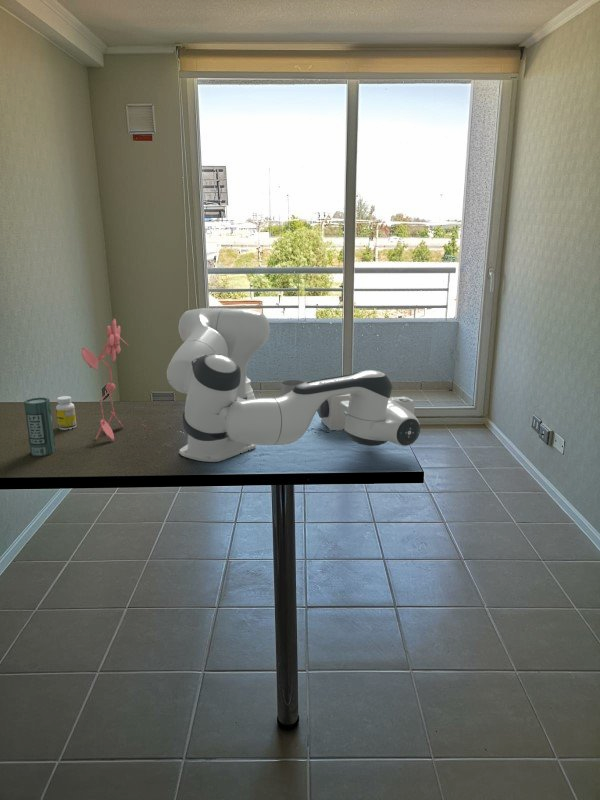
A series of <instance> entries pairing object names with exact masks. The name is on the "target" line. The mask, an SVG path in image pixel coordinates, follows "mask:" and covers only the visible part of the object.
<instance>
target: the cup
mask: <svg viewBox="0 0 600 800" xmlns="http://www.w3.org/2000/svg"><path fill="white" fill-rule="evenodd" d="M304 382H305V381H303V380H299V379H286V380H282V381H281V382H280V396H283V395H285V394H287V393H289V392H291V391H292V390H293V389H294V387H295V386H296V385H298V384H301V383H304Z"/></svg>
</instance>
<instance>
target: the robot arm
mask: <svg viewBox="0 0 600 800" xmlns="http://www.w3.org/2000/svg"><path fill="white" fill-rule="evenodd" d="M270 333H271V326H270V323H269V320H268V318H267V316H266V315H265V314H264V313H263V312H259V311H255V310H251V309H245V308H244V309H243V308H242V309H239V308H211V307H210V308H209V307H202V308H194V309H190V310H185V312H184V313H182V315H181V317H180V318H179V322H178V334H179V337H180V339H181V340H182V342H183V343H182V344H181V345H180V346H179V348H177V350H176V351H175V353H174V354H173V356H172V358H171V360H170V362H169V364H168V365H167V369H166V378H167V382H168V383H169V385H170V386H171V387H172V388H173V390H176V391H177V392H178V393H181V394H186V399H185V405H184V411H183V413H182V426H183V430H184V431H185V433H187V444H186V445H183V447H181V448H180V449H179V451H178V453H179V454H180V456H183V457H184V458H188V459H191V460H194V461H199V462H207V463H218V462H221V461H224V460H225V461H226V460H227V459H229V458H232V457H233V458H234V456H237V455H241V454H243V453H246V452H248V450H249V451H252V450H253V449H256V448H255V447H256V446H282V445H289V444H293V443H295V442H297V441H298V440H300V439H301V437H303V436H304V435H305V434H306V432H307V430H308V429H309V427H310V425H311V423H312V420H313V419H314V417H315V415H316V414H317V410H318V408H319V407H320V405H321V404H322V403H323V402H324V401H325V400H326V399H328V398H331V397H336V396H341V395H347V394H350V399H349V401H341V402H340V405H339V412H340V414H341V415H342V416H344V417H345V418H346V422H345V429H344V430H343V431H344V432H345V433H346V435H347V436H348V437H349V438H350V439H351V440H352V441H353V442H355V443H357V444H359V445H362V446H366V447H367V446H368V447H375V446H376V447H377V446H380V445H385V444H386V443H388V442H390V443H393V444H396V445H397V446H403V447H407V446H411V445H412V444H414V443H415V442H416V441H417V440H418V438H419V437H420V433H421V424H420V421H419V419H418V418H417V417H416V415H415V401H414V399H412V398H410V397H408V396H391V393H392V391H393V384H392V382H391V380H390V378H389V377H388V375H387V374H386V373H384V372H382V371H379V370H374V369H367V370H361V371H357V372H353V373H350V374H345V375H339V376H331V377H324V378H320V379H315V380H308V381H304V383H301V384H298V385H296V386H295V387H294V389H293V390H292V391H291V392H289V393H287V394H285V395H283V396H281V395H280V396H278V397H255V398H254V399H247V395H246V376H247V370H248V365H249V363H250V361H251V358H252V357H253V356H254V354H255V353H256V352H257V351H259V350H260V349H261V348H263V347H264V346H265V345H266V343H267V342H268V340H269V337H270ZM251 449H252V450H251ZM240 453H241V454H240Z"/></svg>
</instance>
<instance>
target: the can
mask: <svg viewBox="0 0 600 800" xmlns="http://www.w3.org/2000/svg"><path fill="white" fill-rule="evenodd" d="M23 405H24V406H23V407H24V413H25V420H26V426H27V434H28V435H27V436H28V442H29V449H30V455H31V456H34V457H46V456H48V455H50V456H51V454H52V455H53V454H54V453H55V452H56V443H55V434H54V427H53V425H54V424H53V419H52V411H51V402H50V398H48V397H33V398H29V399H26V400H24V401H23Z"/></svg>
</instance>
